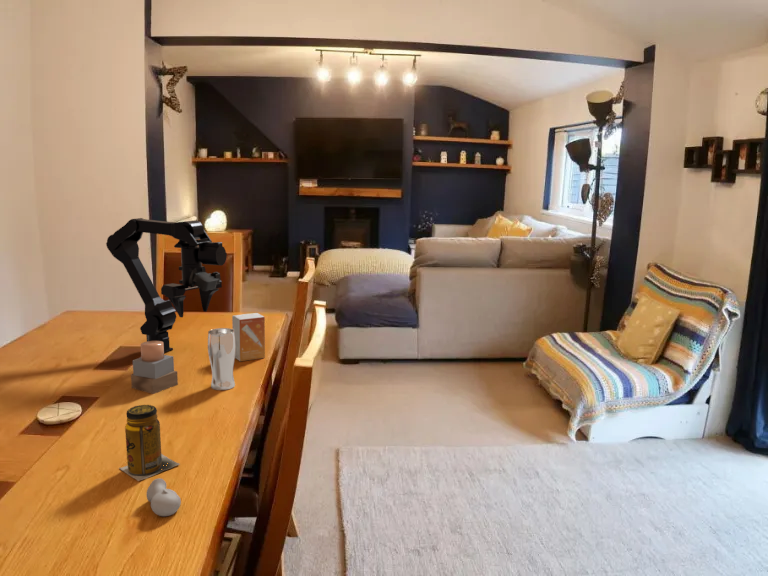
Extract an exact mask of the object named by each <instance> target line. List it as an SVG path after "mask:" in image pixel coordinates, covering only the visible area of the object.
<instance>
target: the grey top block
mask: <svg viewBox="0 0 768 576" xmlns="http://www.w3.org/2000/svg"><path fill="white" fill-rule="evenodd" d="M174 360H175V358H174V356H173V355H167V354H164V359H162V360H159V361H154V362H146V361H142V360H141V356H140V357H138V358H136V359H135V358H134V359H133V360H132V372H133V373H132V374H133V375H135V376H140V377H146V378H152V379H157V378H159V377H161V376H164V375H166V374H168V373H170V372H173V371H175V364H174V362H175V361H174Z"/></svg>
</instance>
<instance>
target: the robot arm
mask: <svg viewBox="0 0 768 576" xmlns="http://www.w3.org/2000/svg"><path fill="white" fill-rule="evenodd" d="M144 233H146V234H157V235H164V236H168V237H172V238H173V239H176V240H178V242H176V243H175V244H174V245H173V247H174V248H175V249H176V248H178V249H180V258H181V259H180V260H181V266H178V270H179V271H181V279H179V280H178V282H179V283H173V282H172V283H167V284H163V285H162V286H161V288H160V294H161V295H163V296H164V297H166V298H168V299H167V300H164V299H163V298H162V297H161V296H160V295H159V293H158V290H157V289H156V287H155V285H154V284H153V282H152V279H151V278H150V276H149V274H148V272H147V270H146V267H144V264H143V263H142V260H141V258H140V256H139V255H140V253H139V252H140V247H139V245H138V242H139V241H140V240H141V239H142V237H143V234H144ZM105 245H106V248H107V250H108V251H109V253H110V254H111V255H112V256H113V258H114V259H116V260H117V261H119V262H120V263H121V264H122V265H123V266H124V268H125V271H126V272H127V273H128V274H127V275H129V277H130V280H131V281H132V284H133V285H134V287H135V289H136V291H137V292H138V295H139V297H140V298H141V301H142V302H143V304H144V317H145V322H144V323H142V324H141V325H140V327H139V329H140V332H141V334H142V335H145V336H146V342H147V341H162V342H163V344H164V353H167V352H170V351H173V350H174V348H173V347H170V337H169V331H170V330H172V329H173V327H174V325H175V323H176V320H177V316H178V317H179V318H183V317H184V300H185V299H186V297H187V295H185V293H186V292H187V291H192V290H197V289H198V292H199V298H200V303H201V309H202V312H205V313H206V312H207V311H208V309H209V306H210V302H211V300H212V297H213V295H214V294H215V293H216V292H217V291H219V290H220V288H222V287H223V286H222V285H223V284H222V283H223V282H222V280H221V273H220V272H218V271H214V272H211V273H210V272H209V273H208V272H207V271H206V266H204V265H209V266H223V265H225V263H226V261H227V257H228V256H227V251H226V249H225V246H223V242H222V241H217V242H215V241H212V239H211V237H210V236H209V235H208V233H207V232H206V230H205V229H204V225H203V224H202V222H201V221H199V220H187V221H186V220H184V221H176V222H175V221H174V222H173V221H164V220H154V219H146V218H145V219H144V218H143V217H140V218H131V219H130V220H128V221H127V222H126V223H125V224H124V225H122V226H121V227H120V228H118V229H117V230H116V231H115V232H114V233H113V234H110V235H109V236H108V237H107V240H106V243H105ZM176 313H177V314H176Z"/></svg>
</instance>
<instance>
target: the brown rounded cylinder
mask: <svg viewBox="0 0 768 576" xmlns="http://www.w3.org/2000/svg"><path fill="white" fill-rule="evenodd" d="M164 355H165V352H164V344H163V342H162V341H147V340H146V341H144V342H142V343H141V342H140V357H141V360H142V361H146V362H154V361H159V360H162V359H164Z"/></svg>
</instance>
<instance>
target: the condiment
mask: <svg viewBox="0 0 768 576" xmlns="http://www.w3.org/2000/svg"><path fill="white" fill-rule="evenodd" d="M157 411H158V409H157V407H155V406H154V405H151V404H140V405H139V404H138V405H134V406H132V407H130V408H129V409H127V410H126V424H125V427H124V431H125V443H126V444H125V445H126V447H125V448H126V460H127V461H126V463H127V465H125V466H123V467H119V469H120V470H121V471H122V472H124V473H125V474H127V475H128V476H130V477H131V478H133V479H135V480H136V481H137V482H139V481H142V480H145V479H148V478H150V477H153V476H155V475H158V474H160V473H162V472H164V471H167V470H169V469H173V468H174V467H176V466H180V463H179V462H176V461H175V460H172V459H170V458H169V457H168V456H166V455H164V454H163V453H162V440H161V426H160V425H161V423H160V420H159V419H158V414H157ZM167 463H168V464H167ZM163 465H164V466H163ZM166 465H167V466H166ZM161 469H162V470H161Z"/></svg>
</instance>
